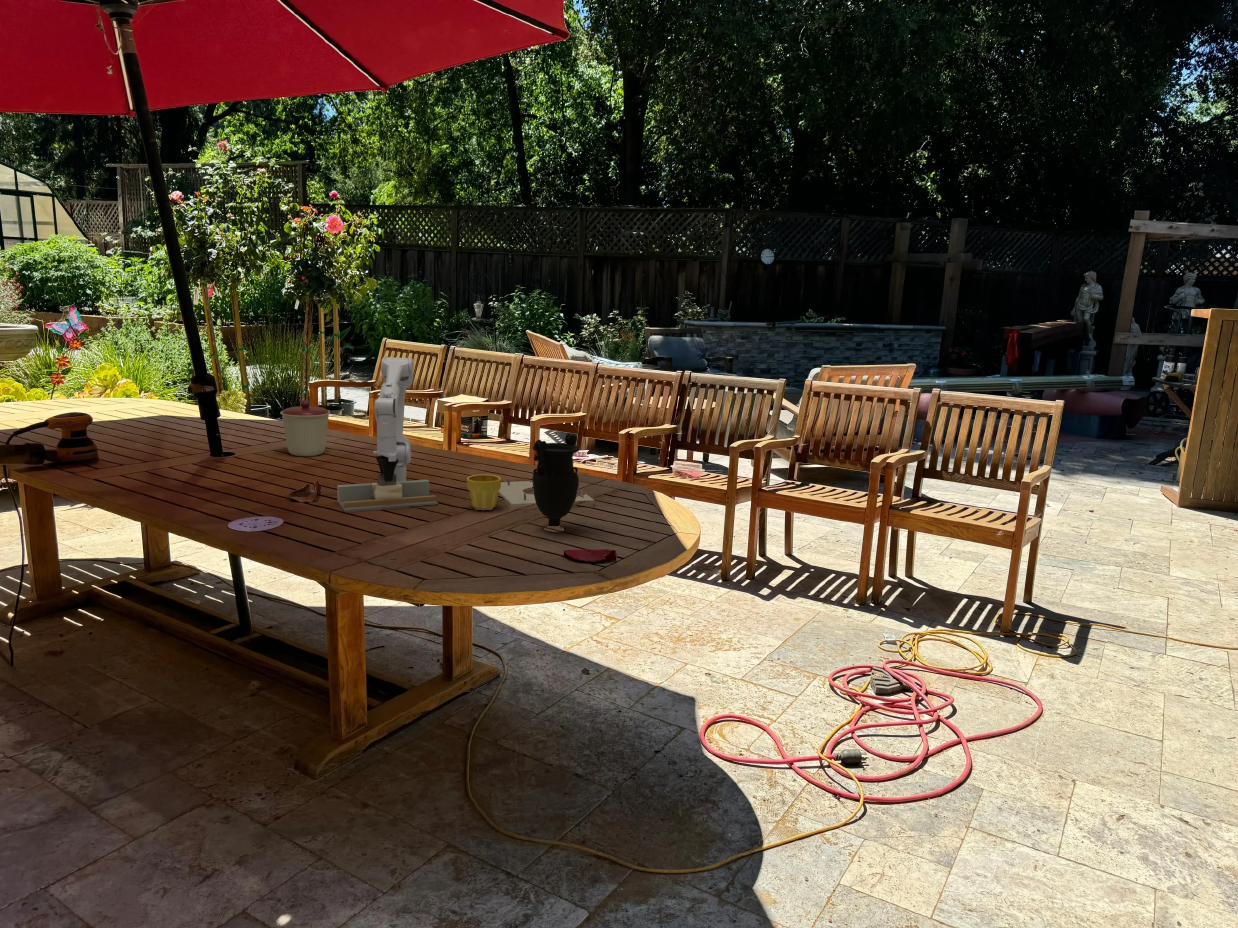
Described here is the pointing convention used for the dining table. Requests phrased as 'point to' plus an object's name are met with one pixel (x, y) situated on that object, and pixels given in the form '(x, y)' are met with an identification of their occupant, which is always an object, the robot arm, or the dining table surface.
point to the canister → (305, 429)
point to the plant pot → (484, 490)
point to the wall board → (362, 499)
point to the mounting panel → (519, 498)
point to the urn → (555, 478)
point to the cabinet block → (386, 488)
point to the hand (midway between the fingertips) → (387, 480)
